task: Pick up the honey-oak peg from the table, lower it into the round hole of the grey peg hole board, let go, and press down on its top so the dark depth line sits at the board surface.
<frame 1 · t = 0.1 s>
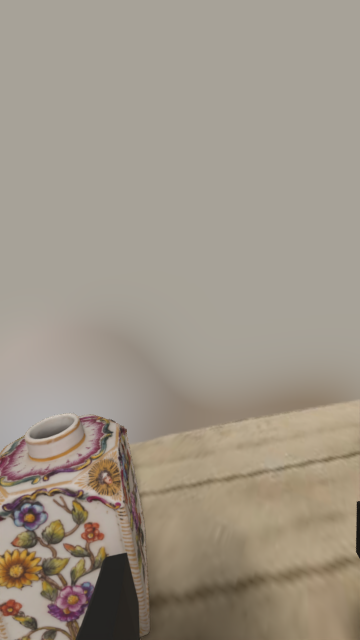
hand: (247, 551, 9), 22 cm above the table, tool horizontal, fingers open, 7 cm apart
decorative jar: (91, 588, 31), on the table
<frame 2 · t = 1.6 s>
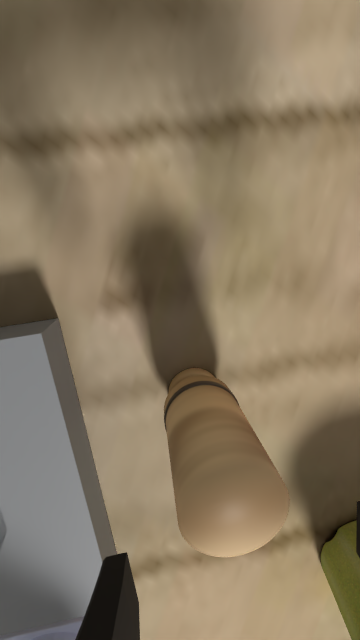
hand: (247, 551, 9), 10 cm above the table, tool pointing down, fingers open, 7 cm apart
plant pot: (353, 545, 25), on the table
oak peg: (193, 391, 19), on the table
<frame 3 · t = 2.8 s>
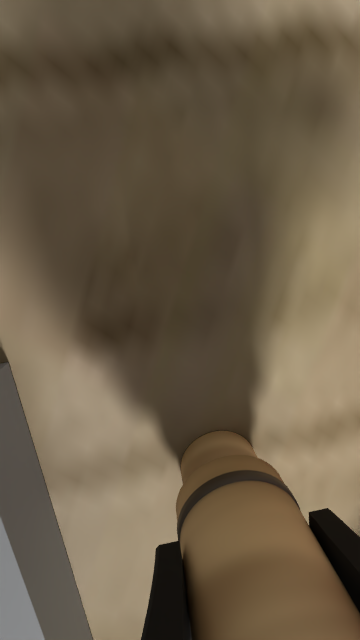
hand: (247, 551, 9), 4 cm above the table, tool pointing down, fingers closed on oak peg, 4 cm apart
oak peg: (218, 464, 13), on the table, touching gripper
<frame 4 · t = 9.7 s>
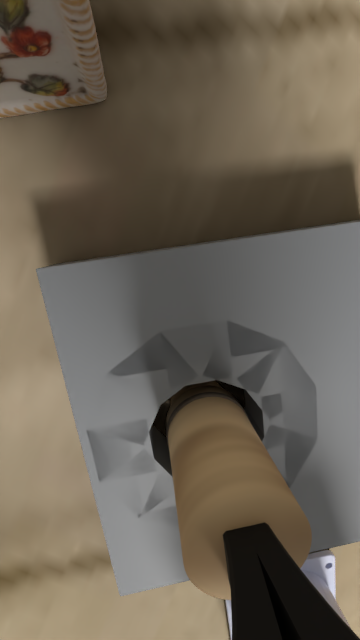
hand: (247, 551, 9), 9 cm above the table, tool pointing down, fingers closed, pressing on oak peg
grey peg hole board: (231, 397, 18), on the table
oak peg: (198, 401, 18), resting in grey peg hole board, touching gripper
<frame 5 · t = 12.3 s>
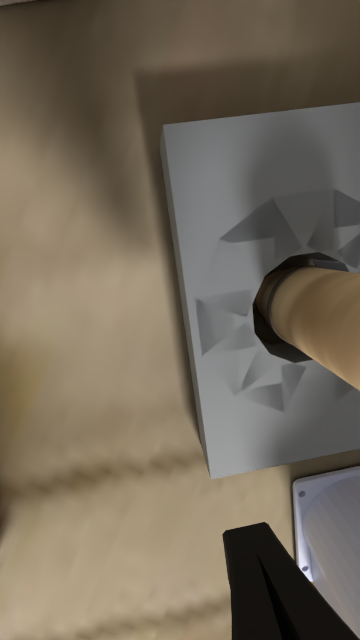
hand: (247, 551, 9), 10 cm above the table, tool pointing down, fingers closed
grey peg hole board: (312, 294, 19), on the table
oak peg: (281, 297, 19), resting in grey peg hole board
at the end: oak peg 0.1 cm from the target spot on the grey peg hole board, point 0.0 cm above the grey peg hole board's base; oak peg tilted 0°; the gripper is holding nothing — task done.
